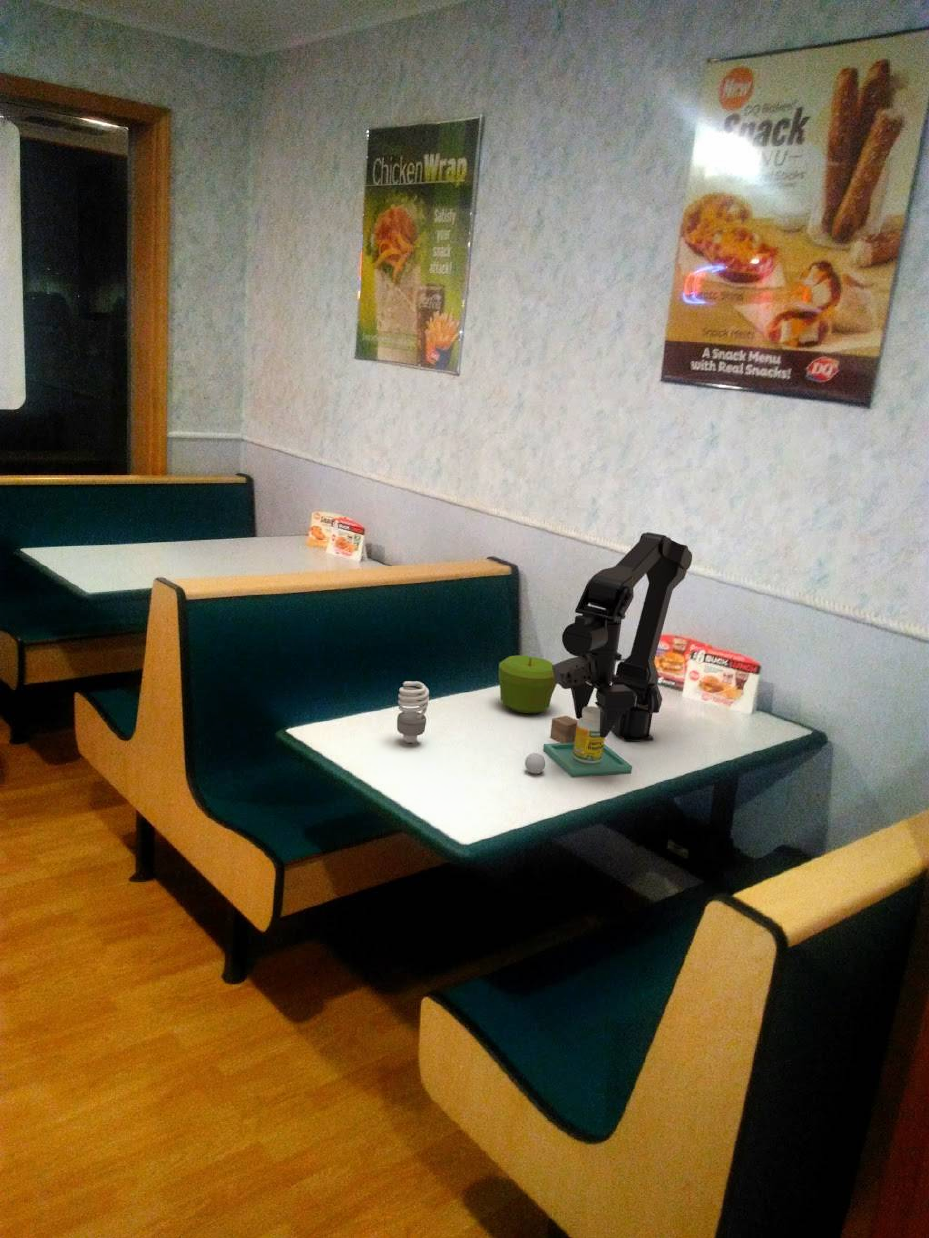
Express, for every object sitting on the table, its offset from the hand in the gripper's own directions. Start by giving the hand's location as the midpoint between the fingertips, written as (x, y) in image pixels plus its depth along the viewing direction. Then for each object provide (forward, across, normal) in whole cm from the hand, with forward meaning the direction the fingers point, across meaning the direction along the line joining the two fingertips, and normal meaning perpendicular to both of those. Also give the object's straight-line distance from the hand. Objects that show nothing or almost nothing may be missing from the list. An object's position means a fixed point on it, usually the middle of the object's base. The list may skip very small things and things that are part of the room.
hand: (590, 727), depth 177 cm
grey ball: (+7, +3, -12) cm, 14 cm away
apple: (+7, -28, 0) cm, 29 cm away
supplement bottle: (+6, 0, 0) cm, 6 cm away
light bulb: (+7, -13, -30) cm, 33 cm away
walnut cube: (+7, -11, +1) cm, 13 cm away
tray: (+7, 0, 0) cm, 7 cm away
